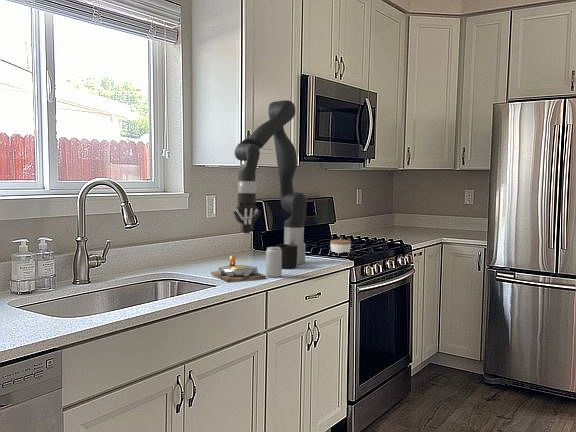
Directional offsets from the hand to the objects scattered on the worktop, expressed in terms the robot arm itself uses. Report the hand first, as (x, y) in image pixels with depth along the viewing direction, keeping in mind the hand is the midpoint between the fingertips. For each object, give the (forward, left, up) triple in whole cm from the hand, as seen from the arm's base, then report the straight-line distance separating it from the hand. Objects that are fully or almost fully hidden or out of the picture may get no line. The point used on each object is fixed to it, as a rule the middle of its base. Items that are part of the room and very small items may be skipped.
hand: (246, 233), depth 231 cm
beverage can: (-8, +11, -17) cm, 22 cm away
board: (+6, +5, -17) cm, 19 cm away
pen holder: (-23, -5, -17) cm, 29 cm away
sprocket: (+6, +5, -16) cm, 17 cm away
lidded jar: (-64, -23, -17) cm, 70 cm away
